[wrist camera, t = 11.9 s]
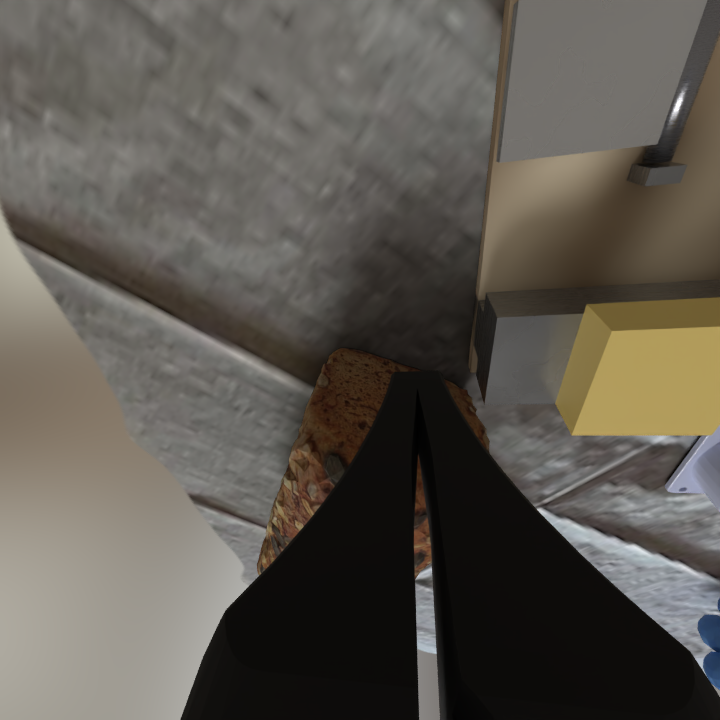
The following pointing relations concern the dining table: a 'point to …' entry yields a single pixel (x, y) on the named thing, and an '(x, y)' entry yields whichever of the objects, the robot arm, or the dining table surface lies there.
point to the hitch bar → (557, 320)
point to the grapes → (711, 646)
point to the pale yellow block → (644, 369)
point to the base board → (601, 210)
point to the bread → (344, 446)
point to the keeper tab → (603, 75)
